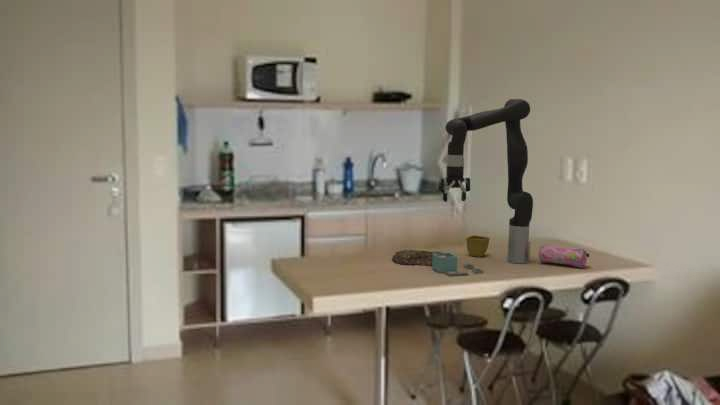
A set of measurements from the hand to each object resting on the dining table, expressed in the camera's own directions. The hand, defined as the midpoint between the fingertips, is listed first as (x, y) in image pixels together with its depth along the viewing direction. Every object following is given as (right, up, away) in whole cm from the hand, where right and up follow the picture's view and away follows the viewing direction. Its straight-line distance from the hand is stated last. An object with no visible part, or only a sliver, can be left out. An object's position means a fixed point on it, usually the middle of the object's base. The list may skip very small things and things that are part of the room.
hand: (454, 201), depth 325 cm
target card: (0, -32, -12) cm, 34 cm away
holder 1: (+7, -30, +1) cm, 31 cm away
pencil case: (+51, -30, +10) cm, 60 cm away
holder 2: (+9, -31, -7) cm, 33 cm away
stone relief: (-12, -28, +16) cm, 34 cm away
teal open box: (-5, -31, -5) cm, 31 cm away
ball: (-6, -26, -8) cm, 27 cm away
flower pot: (+15, -27, +27) cm, 41 cm away
